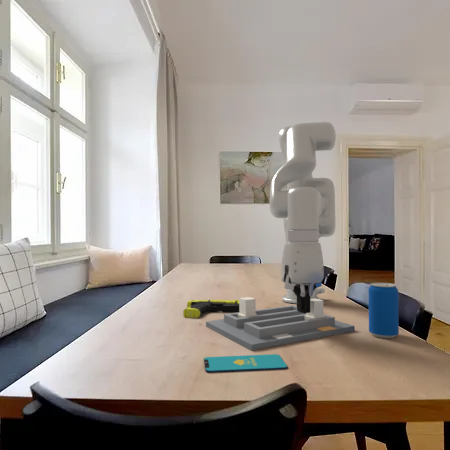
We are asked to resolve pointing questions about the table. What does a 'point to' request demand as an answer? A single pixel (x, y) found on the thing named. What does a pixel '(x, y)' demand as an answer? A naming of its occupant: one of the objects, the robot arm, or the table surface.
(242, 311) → the tab
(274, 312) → the switch board
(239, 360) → the smartphone
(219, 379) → the table surface
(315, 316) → the tab
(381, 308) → the beverage can
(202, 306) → the stun gun
